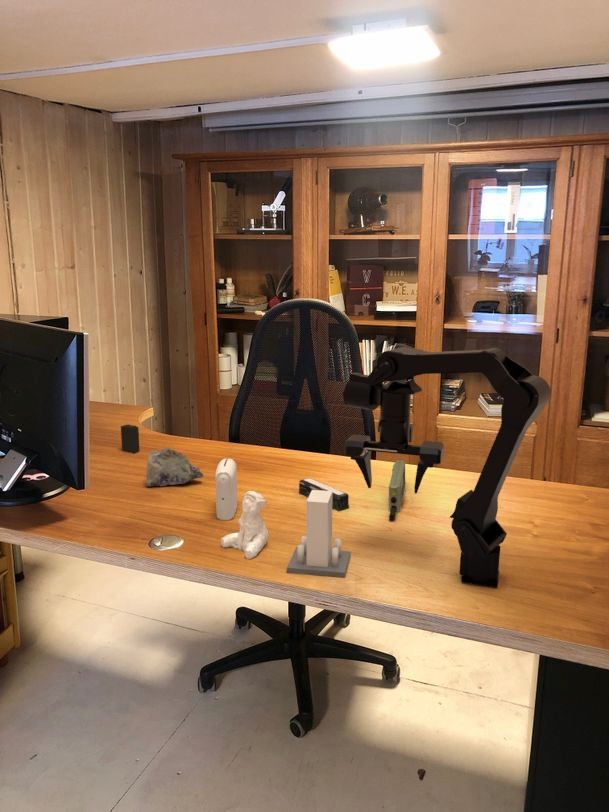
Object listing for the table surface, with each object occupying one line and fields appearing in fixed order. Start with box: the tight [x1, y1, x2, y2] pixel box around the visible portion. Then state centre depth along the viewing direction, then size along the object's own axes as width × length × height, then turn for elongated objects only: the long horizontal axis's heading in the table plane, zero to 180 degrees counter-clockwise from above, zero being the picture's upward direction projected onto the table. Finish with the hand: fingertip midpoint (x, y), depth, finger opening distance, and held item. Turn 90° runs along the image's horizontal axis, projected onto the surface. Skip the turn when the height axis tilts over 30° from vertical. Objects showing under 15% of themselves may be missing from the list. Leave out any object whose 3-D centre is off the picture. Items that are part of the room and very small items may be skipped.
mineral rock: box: [145, 446, 205, 487], centre depth 171 cm, size 13×11×10 cm
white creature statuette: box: [220, 490, 270, 560], centre depth 136 cm, size 10×9×12 cm
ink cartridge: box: [120, 424, 141, 454], centre depth 199 cm, size 5×2×8 cm, turn 61°
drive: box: [305, 490, 333, 567], centre depth 128 cm, size 4×6×13 cm, turn 169°
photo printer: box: [214, 457, 238, 521], centre depth 153 cm, size 10×4×12 cm, turn 0°
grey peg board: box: [286, 535, 352, 579], centre depth 129 cm, size 11×9×4 cm
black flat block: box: [298, 477, 350, 512], centre depth 163 cm, size 14×25×4 cm, turn 39°
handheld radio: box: [388, 459, 406, 521], centre depth 160 cm, size 7×3×25 cm
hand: (392, 490), depth 132 cm, fingers open, 9 cm apart
